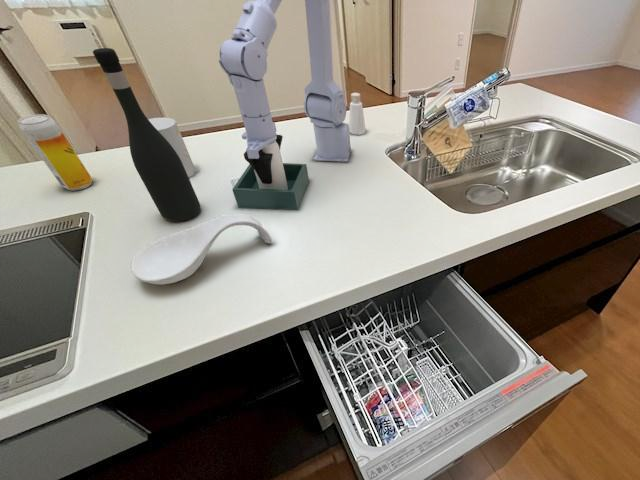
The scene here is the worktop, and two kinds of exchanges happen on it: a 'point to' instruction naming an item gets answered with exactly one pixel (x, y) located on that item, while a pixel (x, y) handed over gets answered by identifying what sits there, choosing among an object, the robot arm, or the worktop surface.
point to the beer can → (55, 151)
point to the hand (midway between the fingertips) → (271, 175)
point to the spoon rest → (185, 249)
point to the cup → (174, 141)
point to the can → (274, 169)
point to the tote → (255, 197)
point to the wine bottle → (151, 149)
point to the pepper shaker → (356, 116)
